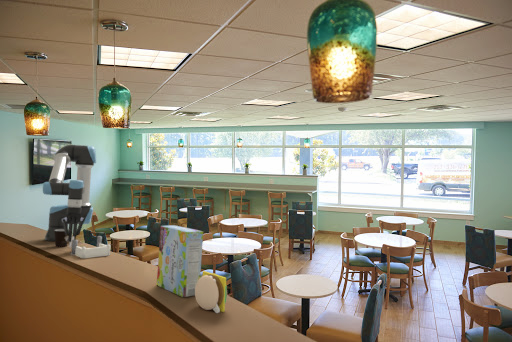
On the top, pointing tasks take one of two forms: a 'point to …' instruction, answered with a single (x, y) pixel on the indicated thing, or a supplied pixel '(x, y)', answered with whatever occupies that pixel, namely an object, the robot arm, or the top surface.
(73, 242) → the gate
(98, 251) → the paddock fence
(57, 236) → the coffee mug
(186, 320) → the top surface
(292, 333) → the top surface
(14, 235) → the top surface
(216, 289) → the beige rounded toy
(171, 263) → the snack box
